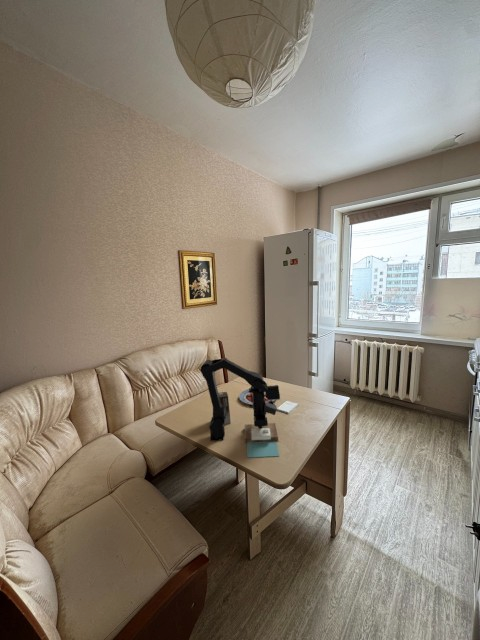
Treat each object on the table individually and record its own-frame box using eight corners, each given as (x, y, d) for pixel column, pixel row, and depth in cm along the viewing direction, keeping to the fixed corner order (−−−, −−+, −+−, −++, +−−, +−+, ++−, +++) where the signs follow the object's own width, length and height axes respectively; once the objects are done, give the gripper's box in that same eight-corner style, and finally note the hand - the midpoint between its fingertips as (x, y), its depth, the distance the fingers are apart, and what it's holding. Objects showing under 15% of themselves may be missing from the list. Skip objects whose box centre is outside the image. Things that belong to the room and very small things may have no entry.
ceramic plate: (244, 410, 148) (244, 406, 147) (235, 393, 173) (235, 389, 172) (284, 403, 153) (283, 399, 153) (269, 388, 178) (269, 384, 178)
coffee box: (229, 417, 141) (227, 391, 139) (230, 423, 134) (228, 396, 132) (213, 419, 139) (211, 393, 137) (214, 425, 133) (211, 398, 131)
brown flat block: (245, 442, 117) (244, 438, 116) (245, 428, 129) (244, 424, 128) (278, 441, 116) (278, 436, 116) (275, 427, 128) (275, 423, 128)
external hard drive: (276, 411, 146) (286, 402, 155) (288, 414, 140) (298, 406, 150) (276, 408, 145) (286, 400, 155) (288, 412, 140) (298, 403, 149)
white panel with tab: (251, 440, 115) (251, 435, 115) (251, 432, 121) (251, 427, 120) (270, 439, 114) (270, 434, 114) (269, 431, 120) (269, 427, 120)
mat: (247, 457, 106) (247, 457, 106) (247, 443, 116) (247, 442, 116) (279, 456, 106) (279, 455, 106) (276, 441, 116) (276, 441, 116)
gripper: (277, 408, 110) (279, 440, 112) (272, 390, 128) (274, 418, 130) (253, 409, 110) (255, 441, 112) (251, 392, 129) (253, 419, 131)
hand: (260, 429), depth 121 cm, fingers closed
